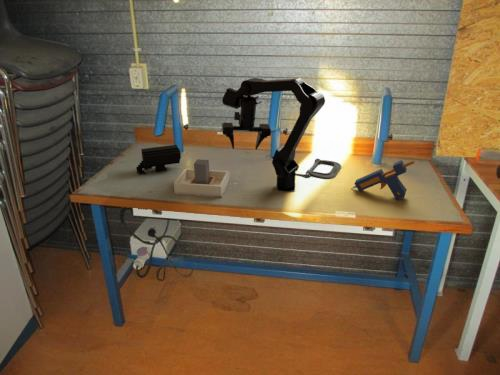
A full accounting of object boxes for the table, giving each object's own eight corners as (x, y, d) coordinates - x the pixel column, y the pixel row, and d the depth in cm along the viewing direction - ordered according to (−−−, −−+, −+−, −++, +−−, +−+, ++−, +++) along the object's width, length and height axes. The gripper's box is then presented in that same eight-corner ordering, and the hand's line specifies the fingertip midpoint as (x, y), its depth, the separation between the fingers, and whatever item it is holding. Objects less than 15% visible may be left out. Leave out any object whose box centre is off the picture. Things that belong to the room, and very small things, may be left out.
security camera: (136, 170, 169) (133, 148, 165) (179, 164, 175) (177, 143, 170) (138, 177, 163) (134, 154, 159) (182, 170, 169) (180, 148, 165)
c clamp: (329, 184, 157) (329, 178, 156) (289, 175, 165) (290, 169, 164) (345, 167, 173) (346, 161, 172) (309, 159, 181) (309, 153, 180)
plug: (210, 183, 155) (208, 159, 151) (207, 188, 151) (205, 164, 147) (198, 182, 156) (197, 159, 152) (195, 187, 152) (193, 163, 148)
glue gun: (364, 209, 155) (348, 183, 153) (428, 183, 142) (411, 153, 141) (362, 215, 151) (346, 187, 149) (428, 188, 138) (411, 158, 136)
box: (229, 181, 159) (229, 171, 157) (221, 197, 146) (221, 186, 144) (186, 178, 161) (185, 168, 159) (174, 194, 149) (173, 183, 147)
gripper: (268, 105, 158) (264, 140, 167) (221, 103, 156) (220, 139, 164) (273, 116, 149) (268, 153, 157) (224, 114, 146) (221, 152, 155)
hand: (244, 148), depth 159 cm, fingers open, 9 cm apart
